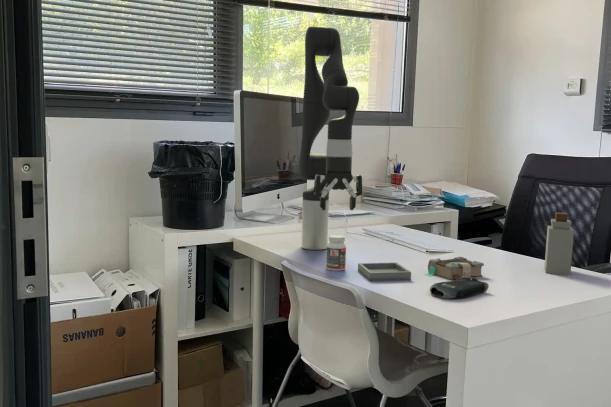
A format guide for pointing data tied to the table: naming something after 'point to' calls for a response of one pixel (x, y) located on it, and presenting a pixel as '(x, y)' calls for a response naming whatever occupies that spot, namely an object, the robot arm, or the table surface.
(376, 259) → the table surface
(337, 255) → the pill bottle
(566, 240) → the perfume bottle
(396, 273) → the tray
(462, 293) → the electronic device
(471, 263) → the cardboard box
